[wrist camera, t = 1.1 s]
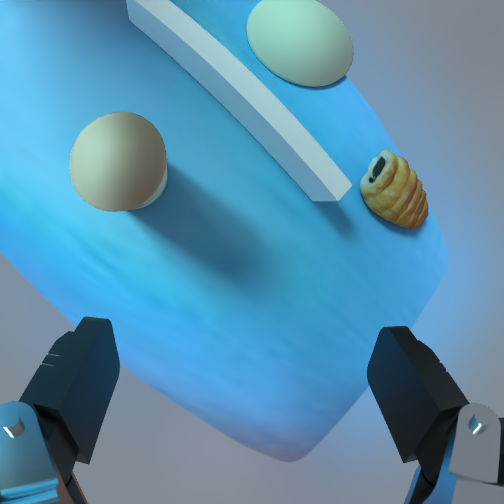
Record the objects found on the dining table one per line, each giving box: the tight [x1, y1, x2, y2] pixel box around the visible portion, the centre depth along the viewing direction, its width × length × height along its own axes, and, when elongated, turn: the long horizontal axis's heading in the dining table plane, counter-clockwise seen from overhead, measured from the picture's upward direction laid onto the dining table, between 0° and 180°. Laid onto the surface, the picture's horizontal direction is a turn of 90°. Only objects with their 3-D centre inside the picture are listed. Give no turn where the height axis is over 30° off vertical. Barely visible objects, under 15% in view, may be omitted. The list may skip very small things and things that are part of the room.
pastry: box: [360, 149, 428, 229], centre depth 31 cm, size 9×7×4 cm
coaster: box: [246, 0, 353, 87], centre depth 27 cm, size 12×12×1 cm
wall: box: [126, 0, 352, 201], centre depth 24 cm, size 26×2×5 cm, turn 45°
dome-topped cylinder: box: [69, 112, 168, 212], centre depth 21 cm, size 6×6×11 cm
